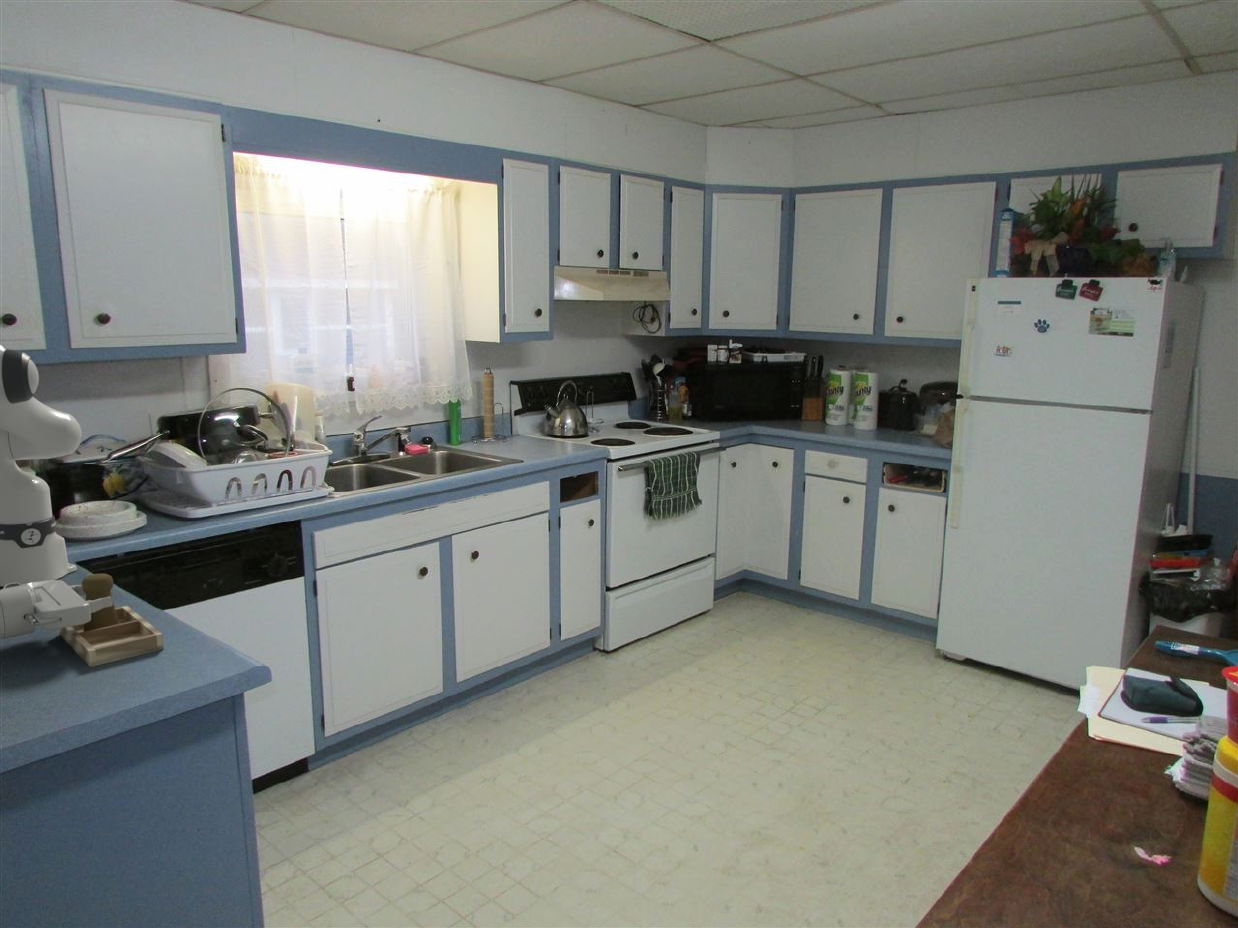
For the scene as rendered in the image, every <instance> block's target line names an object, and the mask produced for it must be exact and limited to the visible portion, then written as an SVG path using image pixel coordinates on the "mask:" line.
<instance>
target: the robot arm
mask: <svg viewBox="0 0 1238 928" xmlns="http://www.w3.org/2000/svg"><path fill="white" fill-rule="evenodd" d="M33 359H34V358H32V357H31V356H29V355H28V354H27V353H26V352H24V351H22V350H21V351H19V350H15V349H10V348H9V349H7V348H5V347H4V346H3V345H2V344H1V343H0V587H3V588H2V589H0V640H5V639H10V638H15V637H19V636H20V637H21V636H24V635H29V634H33V633H34V632H35V631H36V626H39V627H40V628H41V629H43V630H56V629H58V630H59V628H64V627H71V626H76V625H82V624H85V623H87V622H89V621H91V613H94V612H96V611H98V610H100V609H102V608H106V607H110V606H112V605H113V602H114V600H113V599H112V598H113V597H112V598H111V597H110V596H103V597H100V599H96V600H93V601H91V600H88V601H86V599H84V598H83V597H82V596H86V593H85V592H84V591H83V589H82V584H73V585H68V584H67V583H66V582H65V581H64V580H61V578H62V577H64V576H66V575H68V574H70V573H73V572H75V571H77V565H75V564H72V563H69V559H68V554H67V547H66V541H65V538H64V537H62V536H61V535H59V534H58V533H57V527H56V526H57V522H56V518H55V517H56V516H55V515H53V510H52V509H53V508H52V499H51V489H50V486H49V485H48V483H47V481H45V480H44V479H43V478H41V477H40V476H37V475H34V474H31V473H28V472H27V471H26V472H25V471H24V470H22V469H21V468H20V467H19V466H18V464H17V462H16V461H23V460H24V461H25V460H27V461H28V460H47V459H48V460H49V459H55V458H59V457H64V456H69V455H73V454H74V453H75V452H76V451H77V450H78V448H79V447H80V444H81V442H82V438H83V431H82V427H81V425H80V423H79V422H78V420H77V419H76V418H75V417H74V416H73V415H72V414H70V413H68V412H64V411H60V410H57V409H54V408H52V407H50V406H48V405H46V404H44V403H43V402H41V401H40V400H38V399H36V397H34V396H35V395H36V392H37V389H38V386H39V382H40V377H39V376H40V374H39V370H38V367H37V365H36V364H35V361H34V360H33Z"/></svg>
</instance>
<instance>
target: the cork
mask: <svg viewBox="0 0 1238 928" xmlns="http://www.w3.org/2000/svg"><path fill="white" fill-rule="evenodd" d="M81 585H82V589H83V591H84V592H85V593H86V595H85V601H88V600H91V601H93V600H96V599H100V597H103V596H110V597H111V598H112V599H113V595H112V591H111V590H112V589H113V587H114V579H113V577H112V576H111V575H109V574H107V573H94V574H90V575H87V576H85V577H84V578H83V580H82V581H81ZM115 607H116V606H115V603H114V601H113V605H112V606H110V607H106V608H102V609H100V610H98V611H96V612H94V613H91V621H89V622H87V623H85V624H84V632H85V631H90V630H94V629H99V628H103V627H108V626H112V625H117V624H119V623H118V619H117V615H116V611H115Z"/></svg>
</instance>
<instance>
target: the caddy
mask: <svg viewBox="0 0 1238 928" xmlns="http://www.w3.org/2000/svg"><path fill="white" fill-rule="evenodd" d="M115 611H116V615H117V619H118V623H119V624H117V625H112V626H108V627H103V628H99V629H94V630H90V631H85V632H84V624H82V625H76V626H71V627H64V628H58V632H59V636H60V637H61V638H62V639H63V640H64V642H66V643H67V644H68V645H69V646H70V647H71V648H72V650H74V651H75V653H76V654H77V655H78V656H79V657H80V658H81V659H82V661H84V662H85V663H86V664H87V666H89V668H93V667H97V666H102V665H105V664H109V663H113V662H117V661H121V660H122V661H123V660H126V659H130V658H133V657H137V656H141V655H142V656H143V655H145V654H146V655H147V654H150V653H154V652H158V651H161V650H162V649H163V650H164V639H163V633H162V631H161V632H160V630H158V629H157V628H156V627H155V626H153V625H152V624H150V623H149V622H148V621H147V620H146V619H144V617H142V616H140V615H139V614H138V613H137V612H136V611H134V610H133V609H132V608H131V607H129V606H128V605H125V606H118V607H116V608H115Z"/></svg>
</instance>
